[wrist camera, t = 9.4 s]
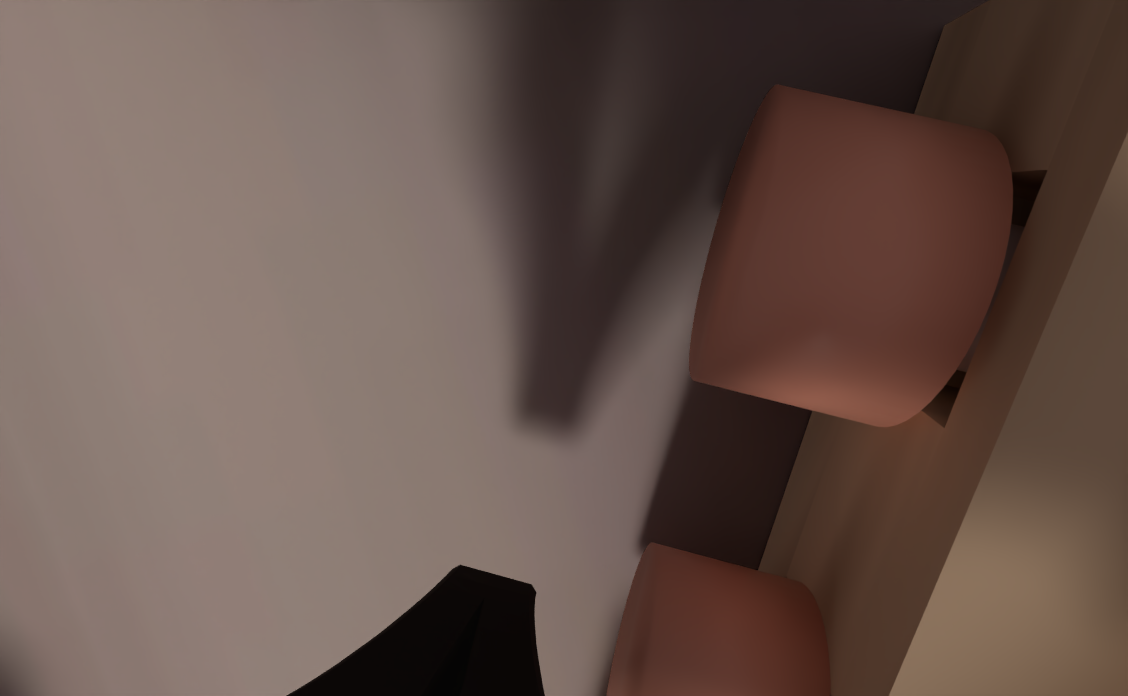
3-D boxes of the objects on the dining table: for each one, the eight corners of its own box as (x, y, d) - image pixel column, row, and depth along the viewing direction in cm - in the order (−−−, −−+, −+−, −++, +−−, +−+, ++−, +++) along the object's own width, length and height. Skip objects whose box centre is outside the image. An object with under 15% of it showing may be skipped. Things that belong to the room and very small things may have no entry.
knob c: (1305, 230, 10) (1736, 253, 6) (1184, 469, 11) (1486, 620, 7) (749, 106, 10) (812, 52, 6) (682, 344, 11) (701, 422, 7)
